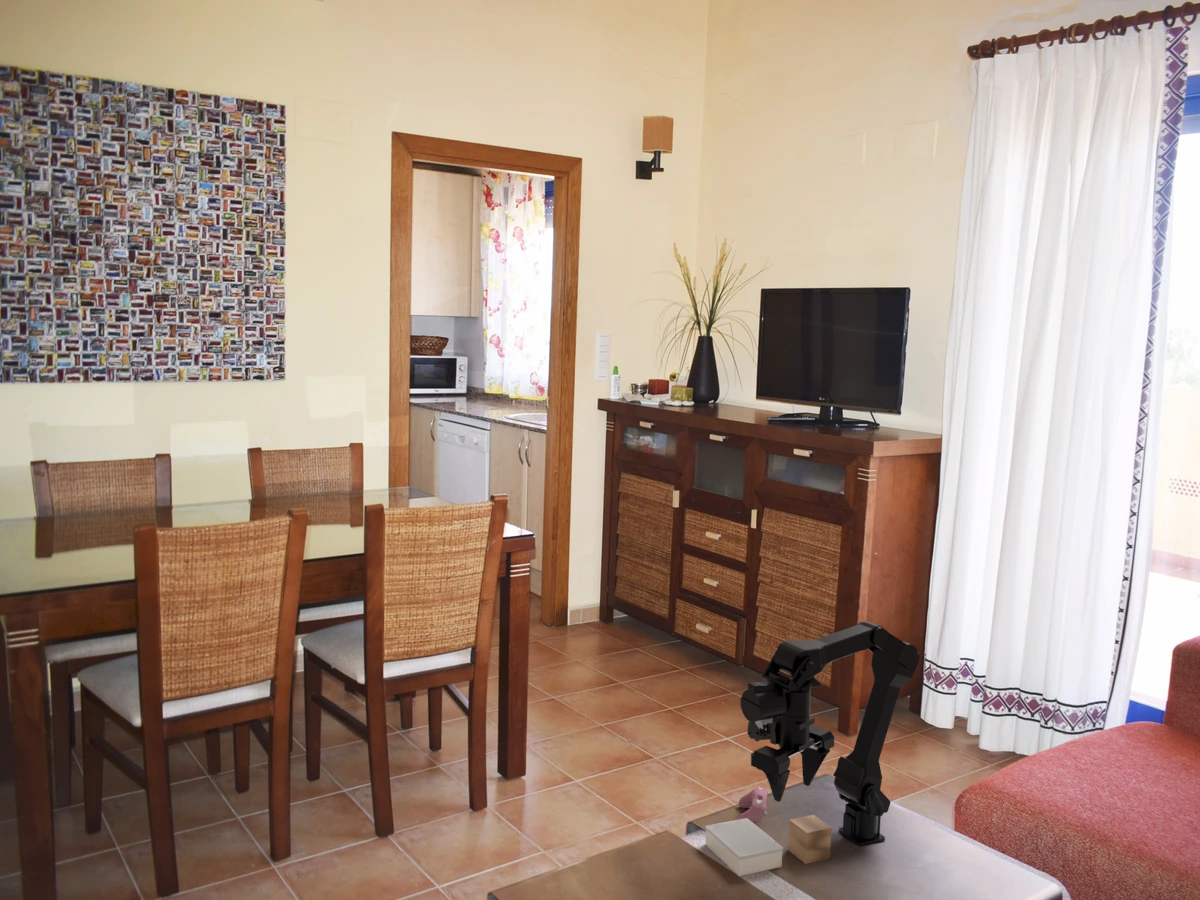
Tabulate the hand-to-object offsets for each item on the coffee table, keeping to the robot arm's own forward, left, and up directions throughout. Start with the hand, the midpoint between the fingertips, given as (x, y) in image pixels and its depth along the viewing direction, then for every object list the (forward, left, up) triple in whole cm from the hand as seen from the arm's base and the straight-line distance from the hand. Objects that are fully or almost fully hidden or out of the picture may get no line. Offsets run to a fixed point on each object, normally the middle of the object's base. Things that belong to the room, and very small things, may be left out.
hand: (792, 792), depth 178 cm
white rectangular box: (+8, -3, -13) cm, 15 cm away
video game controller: (-2, -15, -13) cm, 20 cm away
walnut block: (-4, +1, -12) cm, 13 cm away
